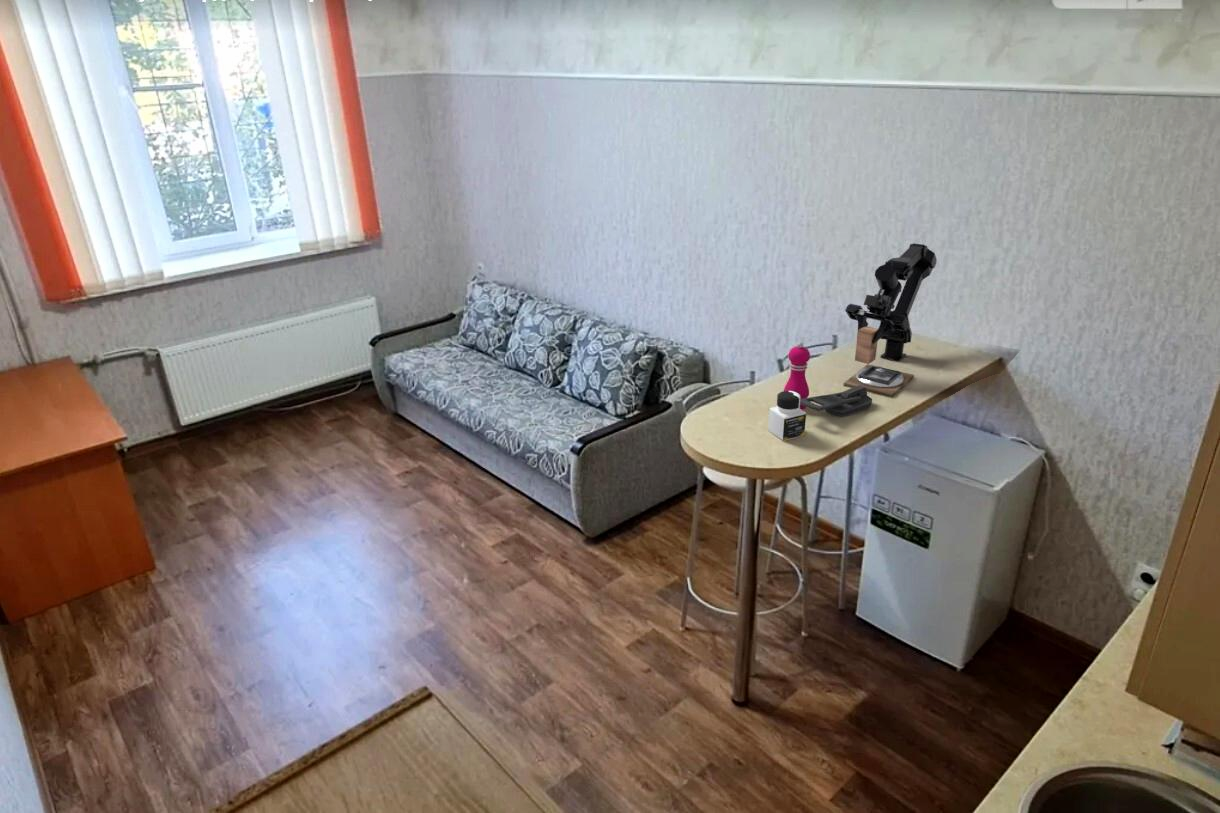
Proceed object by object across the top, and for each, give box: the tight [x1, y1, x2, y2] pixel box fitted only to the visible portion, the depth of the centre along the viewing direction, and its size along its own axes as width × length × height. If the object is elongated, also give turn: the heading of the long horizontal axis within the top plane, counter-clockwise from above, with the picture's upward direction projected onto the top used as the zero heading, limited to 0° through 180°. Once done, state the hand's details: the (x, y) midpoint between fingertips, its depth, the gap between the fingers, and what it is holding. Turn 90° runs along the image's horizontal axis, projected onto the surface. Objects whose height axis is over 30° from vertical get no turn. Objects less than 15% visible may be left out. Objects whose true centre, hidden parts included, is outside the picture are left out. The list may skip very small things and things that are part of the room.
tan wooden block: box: [854, 326, 879, 365], centre depth 237 cm, size 4×4×10 cm
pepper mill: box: [783, 341, 811, 410], centre depth 223 cm, size 7×7×20 cm
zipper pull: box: [800, 385, 873, 419], centre depth 221 cm, size 9×7×25 cm
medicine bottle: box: [768, 390, 807, 442], centre depth 210 cm, size 7×7×12 cm
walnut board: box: [843, 363, 915, 398], centre depth 240 cm, size 18×15×1 cm
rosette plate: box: [855, 364, 903, 388], centre depth 239 cm, size 14×14×2 cm
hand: (865, 341), depth 235 cm, fingers closed on tan wooden block, 4 cm apart
